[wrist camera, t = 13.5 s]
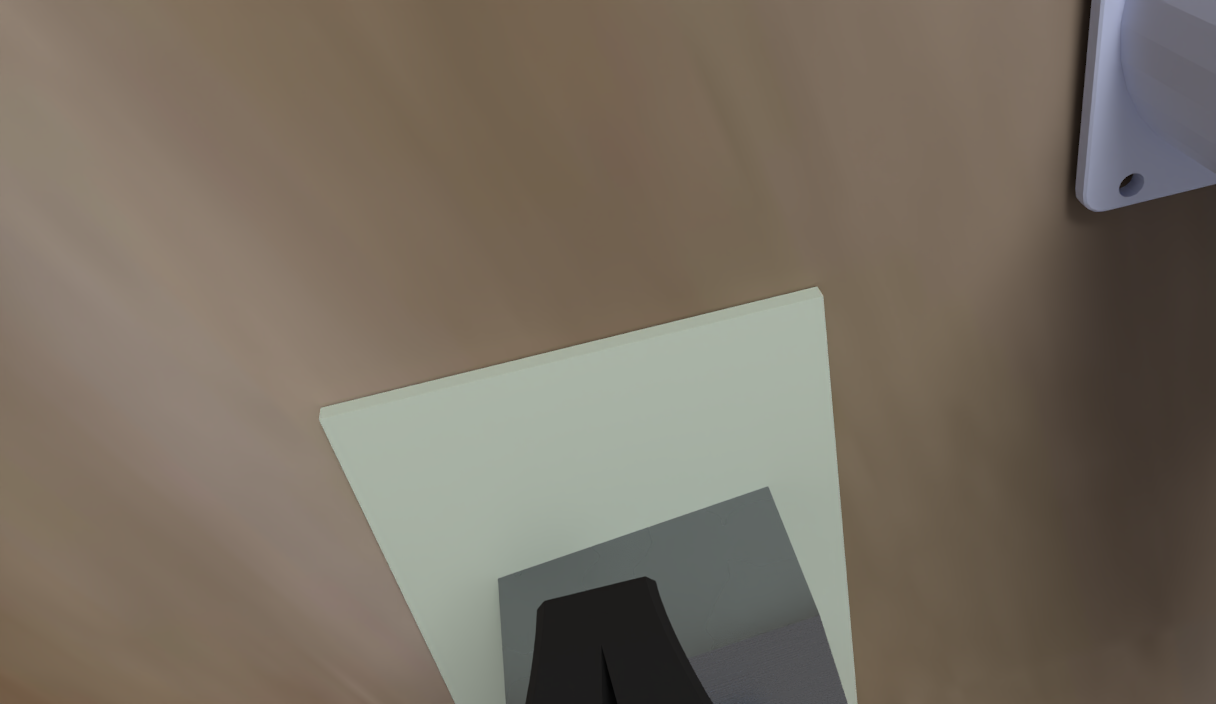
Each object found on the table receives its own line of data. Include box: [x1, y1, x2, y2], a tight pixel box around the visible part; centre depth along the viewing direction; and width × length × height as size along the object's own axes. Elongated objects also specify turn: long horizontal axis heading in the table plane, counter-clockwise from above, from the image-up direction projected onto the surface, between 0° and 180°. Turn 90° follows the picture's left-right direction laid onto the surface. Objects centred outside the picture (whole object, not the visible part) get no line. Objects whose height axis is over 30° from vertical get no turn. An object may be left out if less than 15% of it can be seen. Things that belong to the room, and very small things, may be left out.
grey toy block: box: [498, 486, 848, 704], centre depth 24 cm, size 7×4×5 cm
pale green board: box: [319, 287, 857, 704], centre depth 24 cm, size 11×17×5 cm, turn 12°
